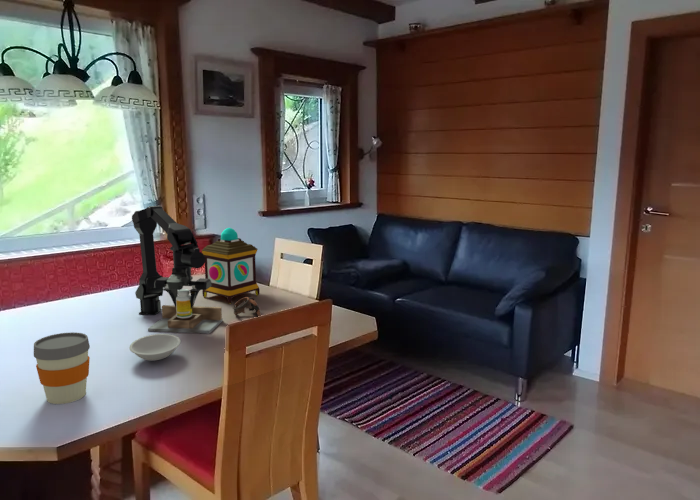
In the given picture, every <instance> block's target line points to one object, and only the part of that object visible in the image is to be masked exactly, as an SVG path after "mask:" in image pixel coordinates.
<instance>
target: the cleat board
mask: <svg viewBox="0 0 700 500" xmlns="http://www.w3.org/2000/svg"><path fill="white" fill-rule="evenodd" d="M161 309H162V310H161V316H162V317H161V318H160V319H159V320H158V321H156V322H155V323H153V324H152V325H151V326H149V327H148V328H147V331H148V332H159V333H161V332H162V333H182V334H183V333H185V334H187V333H188V334H190V333H191V334H208V335H209V334H211V333H212V332H213V331H214V330H215V329H216V328H217V327H218V326H219V325H220V324H221V323H222V322H223V319H224V318H223V316H222V315H223V313H222V311H223V310H222V306H201V305H200V306H199V305H198V306H196V305H194V306H193V307H192V316H191V317H189V318H184V319H182V318H178V317H177V312H176V307H175V305H174V304H173V305H170V304H169V305H166V304H165V305H164V304H163V305H161Z"/></svg>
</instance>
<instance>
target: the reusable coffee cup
mask: <svg viewBox="0 0 700 500" xmlns="http://www.w3.org/2000/svg"><path fill="white" fill-rule="evenodd" d="M90 348H91V347H90V342H89V337H88V335H87V334H85V333H82V332H73V331H72V332H71V331H70V332H61V333H54V334H50V335H47V336H44V337H41V338H39V339H37V340H36V341H35V342H34V343H33V357H34V358H35V359H36V364H35V367H36V372H37V375H38V379H39V382H40V385H42V386H43V391H44V394H45V398H46V402H48V403H49V404H51V405H62V404H63V405H64V404H70V403H72V402H76V401H79V400H81V399H82V398H84V397H85V395H86V394H87V379H88V378H87V377H89V375H90V374H89V373H90V359H91V358H90V356H89V350H90Z"/></svg>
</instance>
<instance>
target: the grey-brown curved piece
mask: <svg viewBox="0 0 700 500" xmlns="http://www.w3.org/2000/svg"><path fill="white" fill-rule="evenodd" d="M232 309H233V314H234V315H235V317H236V316H237V315H238V314H239V315H240V314H246V311H245V310H246V309H248V311H251V312H253V311H255V313H256V314H257V317H258V316H260V317H261V315H262V313H261V310H260V308H259V305H258V303H257V302H256V300H255V298H254V297H253V296H250V297H249V296H245V297H242V298H240V299H238V301H237V300H236V302H235V303H234V305H233V306H232Z"/></svg>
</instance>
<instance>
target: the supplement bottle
mask: <svg viewBox="0 0 700 500" xmlns="http://www.w3.org/2000/svg"><path fill="white" fill-rule="evenodd" d="M176 312H177V317H178V318H182V319H184V318H189V317H191V316H192V308H191V293H190V289H188V288H182V289H181V290H178V296H177V297H176Z"/></svg>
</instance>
